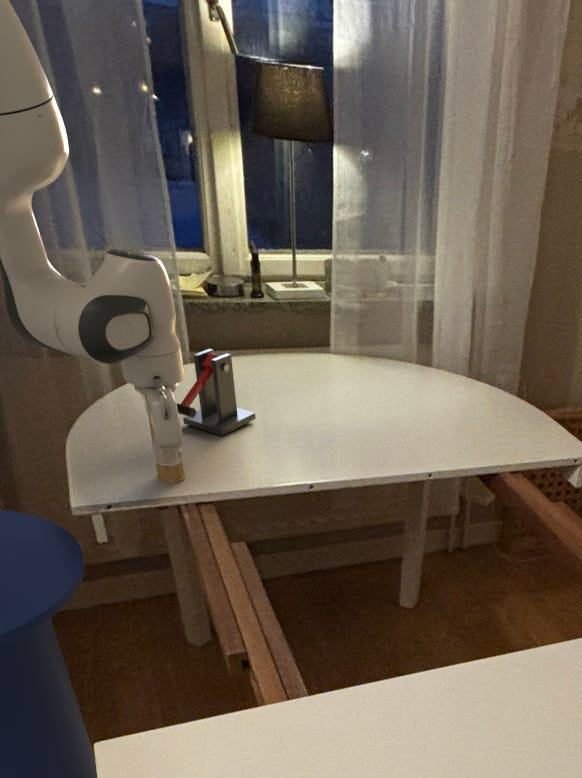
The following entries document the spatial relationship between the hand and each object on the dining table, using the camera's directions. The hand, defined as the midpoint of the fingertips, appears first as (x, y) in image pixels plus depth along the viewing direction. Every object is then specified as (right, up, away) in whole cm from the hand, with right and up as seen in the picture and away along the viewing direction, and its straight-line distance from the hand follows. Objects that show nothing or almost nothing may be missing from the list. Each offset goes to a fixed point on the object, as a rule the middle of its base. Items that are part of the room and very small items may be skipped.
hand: (167, 450), depth 125 cm
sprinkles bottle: (-1, -4, +3) cm, 5 cm away
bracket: (+1, +11, +23) cm, 26 cm away
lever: (0, +15, +15) cm, 22 cm away
